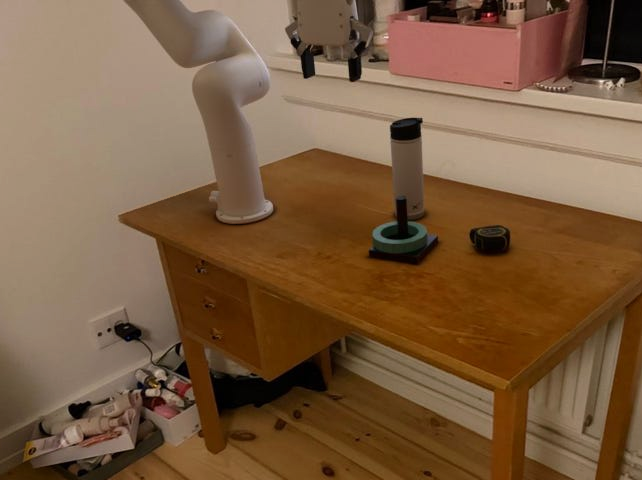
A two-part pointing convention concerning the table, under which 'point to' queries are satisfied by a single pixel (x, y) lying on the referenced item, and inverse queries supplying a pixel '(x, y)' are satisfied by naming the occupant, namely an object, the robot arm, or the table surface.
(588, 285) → the table surface
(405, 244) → the bangle
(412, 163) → the travel mug
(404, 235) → the stand
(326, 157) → the table surface
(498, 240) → the tape measure
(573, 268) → the table surface
